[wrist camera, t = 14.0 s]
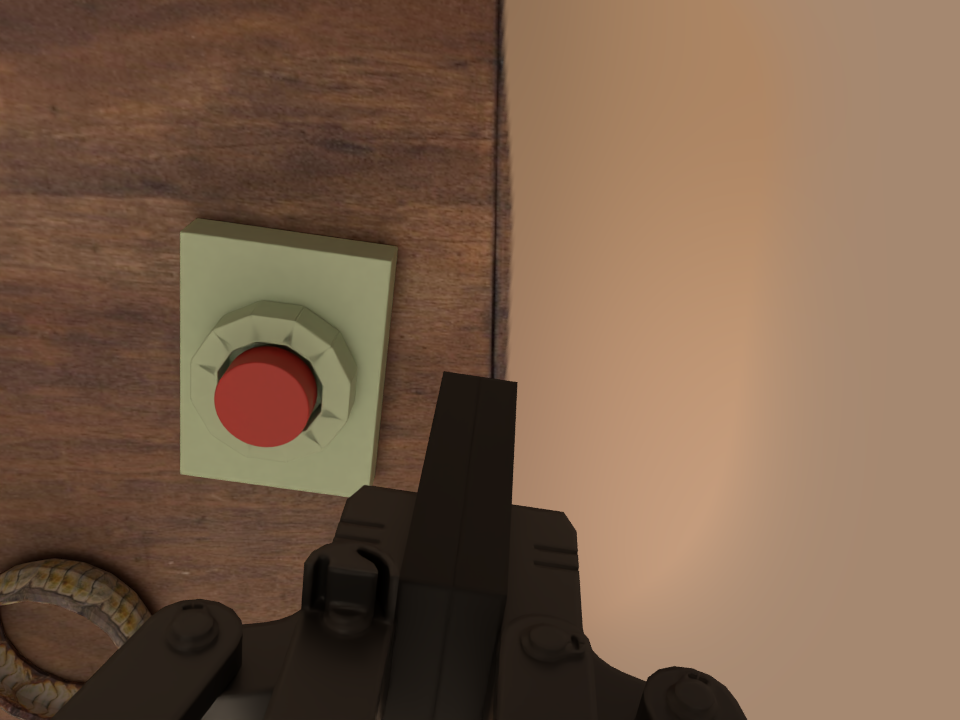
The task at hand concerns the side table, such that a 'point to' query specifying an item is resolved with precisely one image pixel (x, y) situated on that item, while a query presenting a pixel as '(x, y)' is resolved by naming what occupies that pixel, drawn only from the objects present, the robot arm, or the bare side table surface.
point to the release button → (266, 396)
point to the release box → (291, 326)
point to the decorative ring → (73, 587)
